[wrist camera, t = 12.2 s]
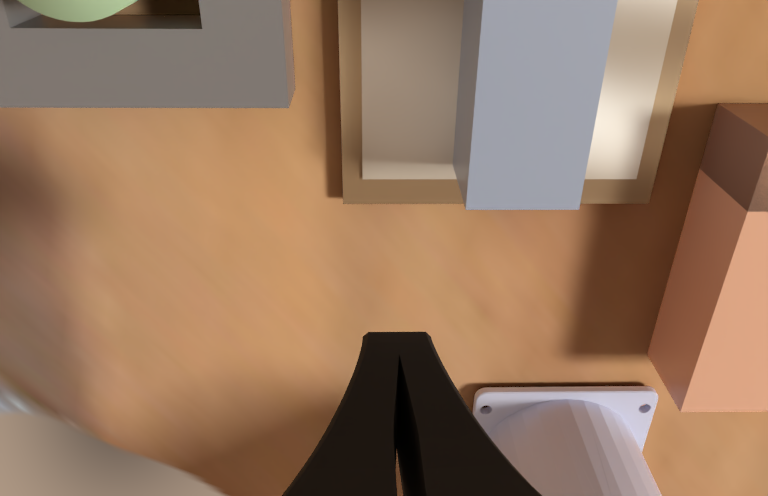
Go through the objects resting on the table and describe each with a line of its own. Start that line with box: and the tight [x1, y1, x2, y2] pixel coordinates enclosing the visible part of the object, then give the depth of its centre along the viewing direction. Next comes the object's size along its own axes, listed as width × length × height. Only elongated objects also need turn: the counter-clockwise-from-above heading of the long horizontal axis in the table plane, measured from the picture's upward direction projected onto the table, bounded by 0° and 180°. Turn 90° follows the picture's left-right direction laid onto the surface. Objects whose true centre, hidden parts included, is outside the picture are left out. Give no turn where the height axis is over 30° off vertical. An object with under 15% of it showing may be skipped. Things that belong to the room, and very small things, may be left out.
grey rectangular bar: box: [453, 0, 618, 210], centre depth 18 cm, size 11×3×3 cm, turn 179°
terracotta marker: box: [647, 103, 768, 412], centre depth 23 cm, size 11×3×3 cm, turn 0°
